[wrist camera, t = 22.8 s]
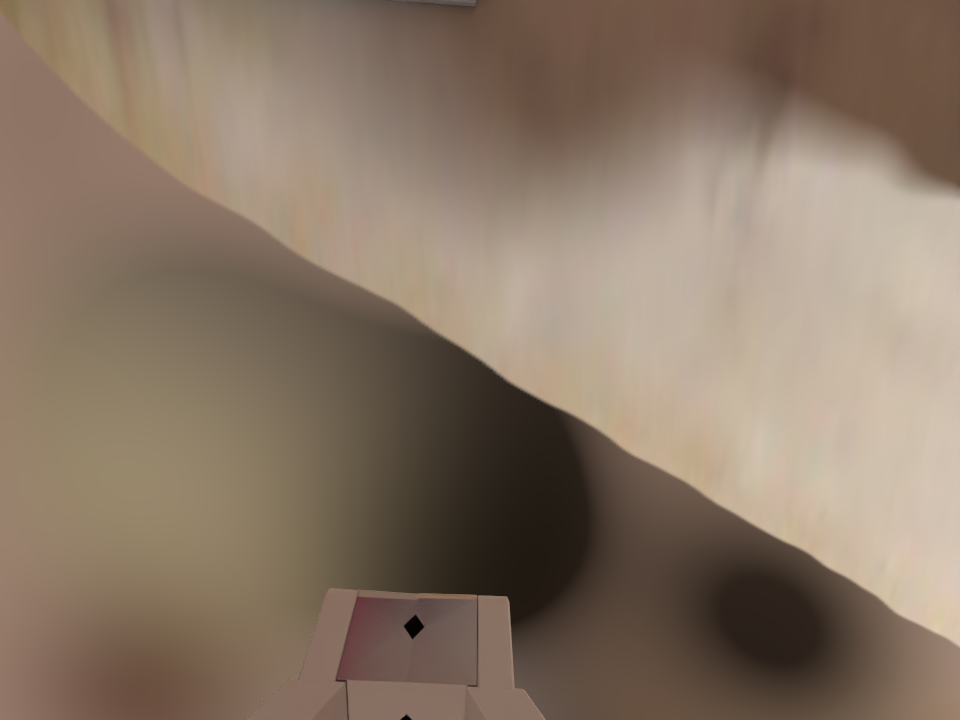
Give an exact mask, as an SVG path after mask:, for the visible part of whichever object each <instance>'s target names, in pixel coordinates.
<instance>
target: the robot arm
mask: <svg viewBox="0 0 960 720" xmlns="http://www.w3.org/2000/svg"><path fill="white" fill-rule="evenodd" d="M246 720H545V719H544V717H543V716H542V714H541V713H540V711H539V710H538V709H537V707H536V706H535V704H534V703H533V701H532V700H531V699H530V697H529V696H528V695H527V693H526V692H525V690H524V689H514V673H513V657H512V641H511V626H510V608H509V601H508V598H507V597H501V596H478V597H477V596H476V595H454V594H453V595H452V594H425V593H419V594H410V593H396V592H383V591H382V592H381V591H368V590H348V589H333V588H330V589H329V590H328V592H327V594H326V595H325V597H324V600H323V603H322V606H321V609H320V613H319V616H318V619H317V622H316V625H315V628H314V631H313V634H312V637H311V640H310V644H309V647H308V650H307V653H306V656H305V659H304V662H303V666H302V668H301V672H300V674H299V678H298V680H287V681H286V682H285V683H284V684H283V685H282V686H281V687H280V688H279V689H278V690H277V691H276V692H275V693H273V694H272V696H270V697H269V698H268V699H267V700H266V701H265V702H264V703H263V704H262V705H261V706H260V707H259V708H258V709H257V710H255V712H254V713H252V714H251V715H250V716H249V717H248V718H247V719H246Z"/></svg>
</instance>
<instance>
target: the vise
mask: <svg viewBox="0 0 960 720" xmlns="http://www.w3.org/2000/svg"><path fill="white" fill-rule="evenodd" d="M392 1H406V2H419V3H433V4H447V5H461V6H475V7H476V0H392Z"/></svg>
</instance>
